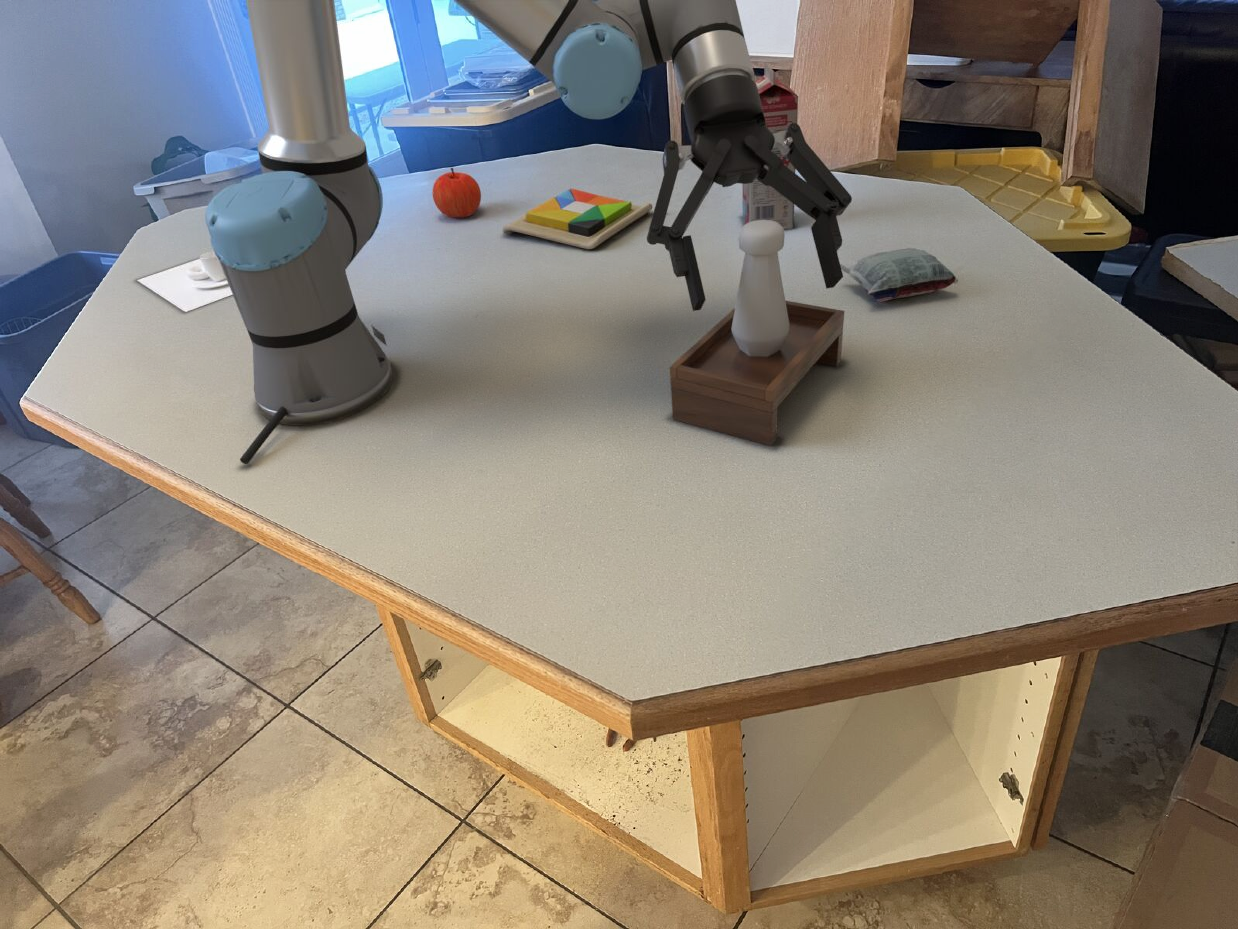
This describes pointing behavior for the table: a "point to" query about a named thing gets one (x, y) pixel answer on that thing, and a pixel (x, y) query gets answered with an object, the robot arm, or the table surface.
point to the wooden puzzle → (578, 218)
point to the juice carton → (778, 117)
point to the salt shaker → (760, 291)
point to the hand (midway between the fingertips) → (767, 294)
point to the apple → (456, 194)
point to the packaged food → (900, 274)
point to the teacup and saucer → (191, 283)
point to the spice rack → (751, 374)
